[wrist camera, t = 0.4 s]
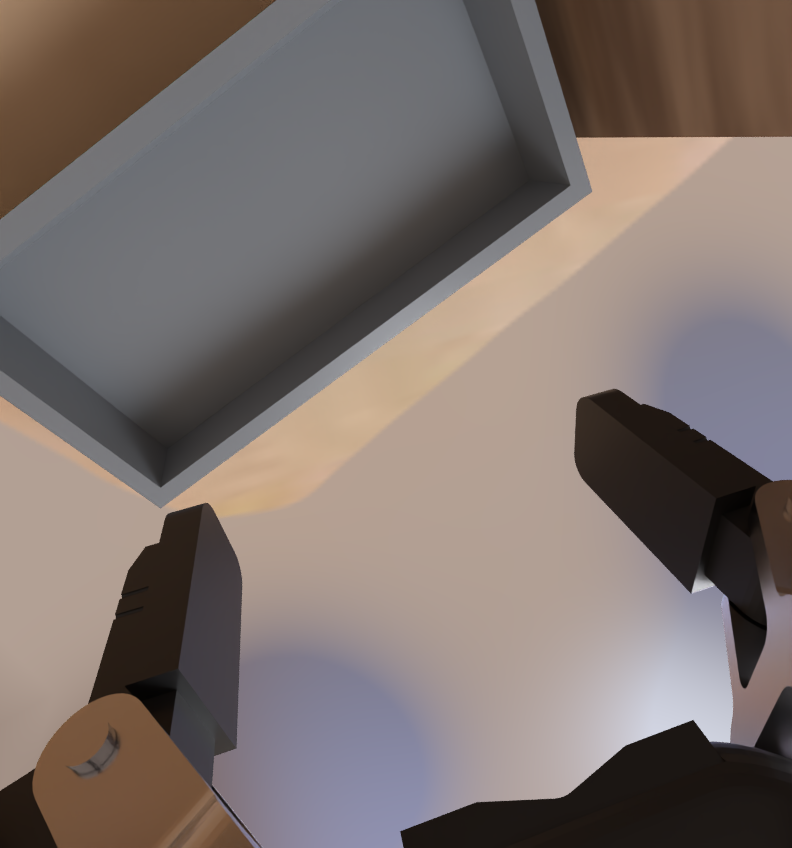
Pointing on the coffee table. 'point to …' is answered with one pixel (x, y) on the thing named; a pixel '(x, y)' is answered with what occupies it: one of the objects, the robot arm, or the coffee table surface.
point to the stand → (673, 66)
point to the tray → (277, 224)
